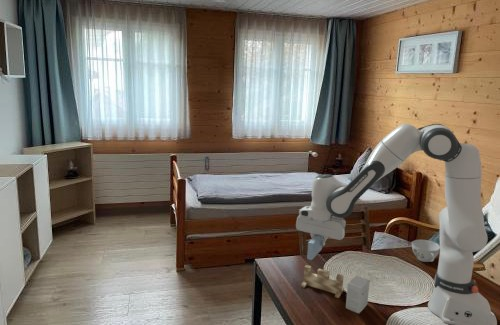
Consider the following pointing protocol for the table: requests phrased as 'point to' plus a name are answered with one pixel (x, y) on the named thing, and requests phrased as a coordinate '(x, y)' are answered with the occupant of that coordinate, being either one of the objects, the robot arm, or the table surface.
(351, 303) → the small box
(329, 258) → the table surface
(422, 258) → the teacup
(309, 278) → the pine rail
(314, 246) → the blue slat
